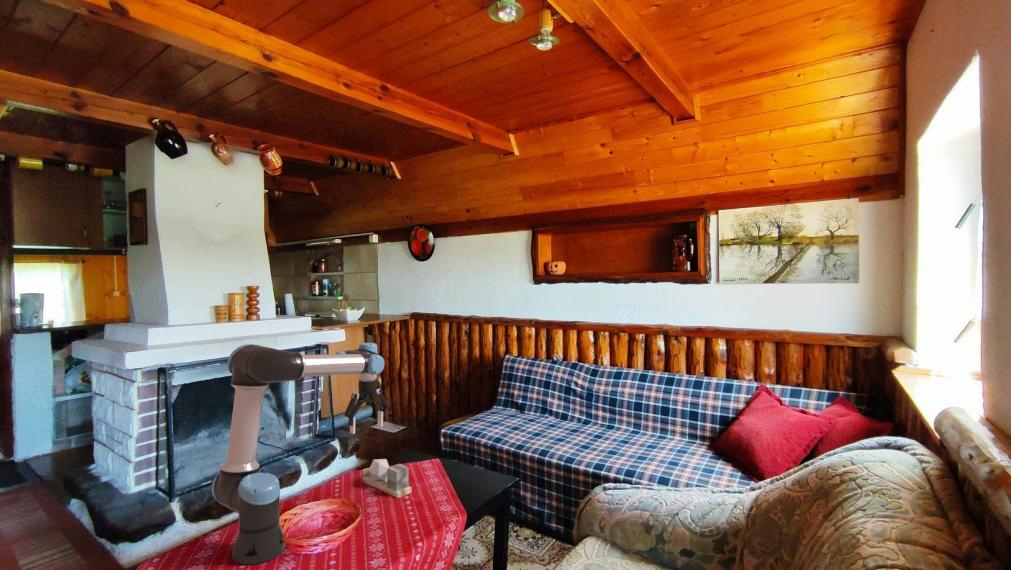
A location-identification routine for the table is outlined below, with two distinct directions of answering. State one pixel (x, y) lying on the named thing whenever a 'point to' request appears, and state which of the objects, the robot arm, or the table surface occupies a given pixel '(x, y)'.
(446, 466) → the table surface
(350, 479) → the table surface
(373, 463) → the die
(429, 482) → the table surface
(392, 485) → the rail
